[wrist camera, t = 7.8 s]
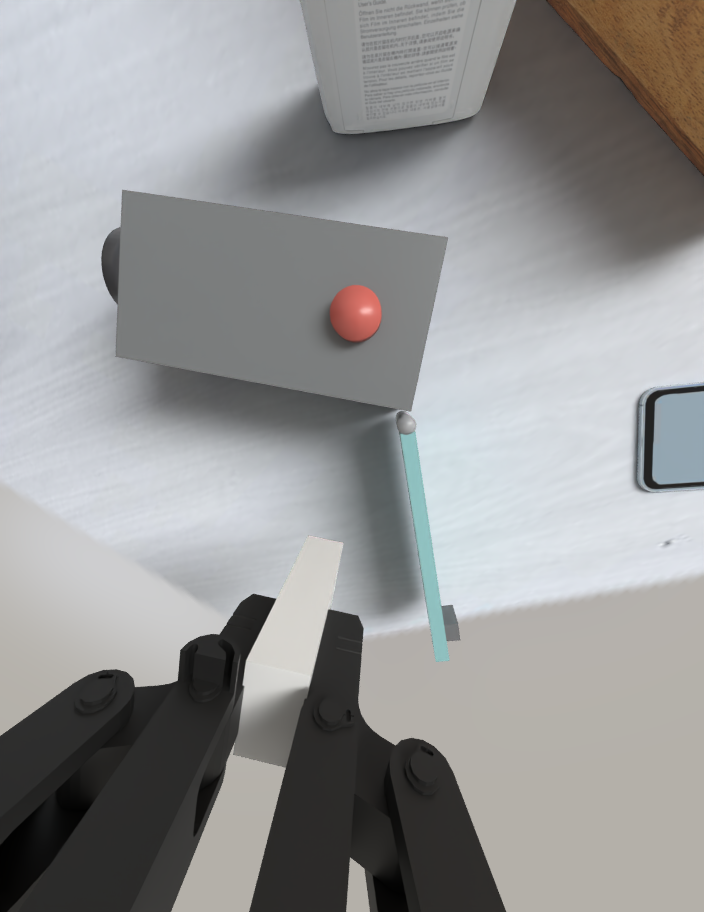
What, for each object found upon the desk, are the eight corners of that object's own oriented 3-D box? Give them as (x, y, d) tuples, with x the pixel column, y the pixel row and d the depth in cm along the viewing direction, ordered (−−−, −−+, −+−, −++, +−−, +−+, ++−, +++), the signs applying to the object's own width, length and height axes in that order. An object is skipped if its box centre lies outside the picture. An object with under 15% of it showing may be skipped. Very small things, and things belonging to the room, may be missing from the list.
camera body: (166, 362, 26) (57, 346, 18) (174, 250, 25) (58, 172, 16) (404, 406, 25) (411, 412, 16) (428, 290, 23) (451, 228, 15)
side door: (449, 603, 26) (467, 663, 20) (424, 605, 26) (434, 666, 20) (421, 407, 24) (431, 411, 18) (394, 412, 24) (395, 417, 18)
